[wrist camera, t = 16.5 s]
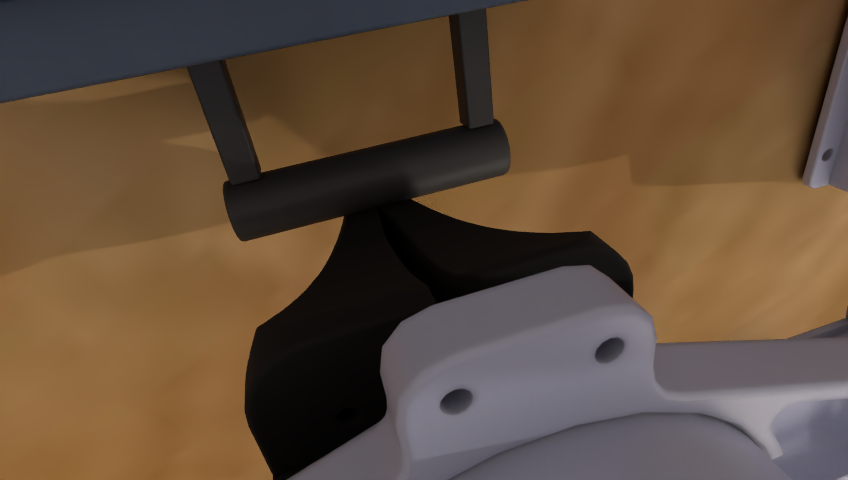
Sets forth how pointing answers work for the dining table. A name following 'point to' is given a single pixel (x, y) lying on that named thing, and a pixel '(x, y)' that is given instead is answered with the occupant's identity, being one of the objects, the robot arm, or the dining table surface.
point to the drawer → (205, 60)
